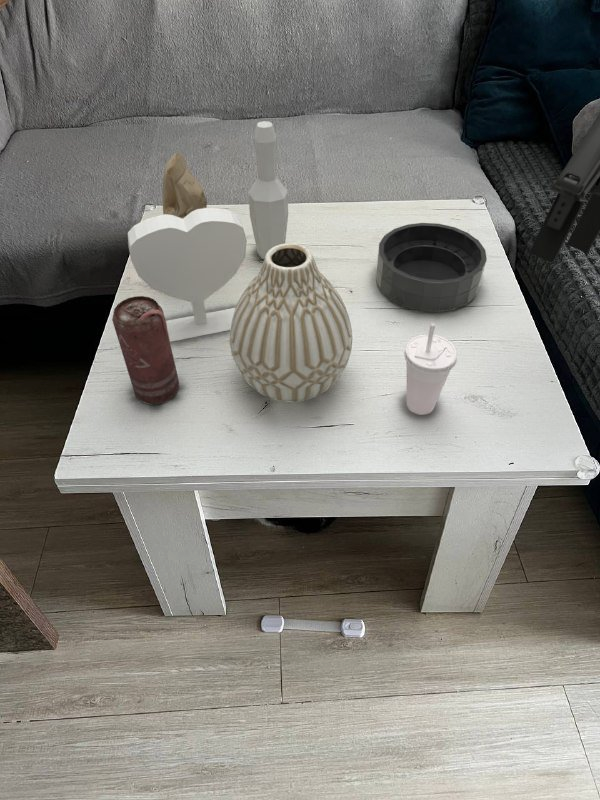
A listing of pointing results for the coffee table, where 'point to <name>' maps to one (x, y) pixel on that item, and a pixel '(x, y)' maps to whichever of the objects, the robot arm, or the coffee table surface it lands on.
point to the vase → (290, 328)
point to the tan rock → (181, 189)
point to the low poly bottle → (267, 194)
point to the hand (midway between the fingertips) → (560, 253)
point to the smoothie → (427, 370)
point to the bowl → (430, 266)
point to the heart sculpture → (190, 263)
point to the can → (146, 349)
